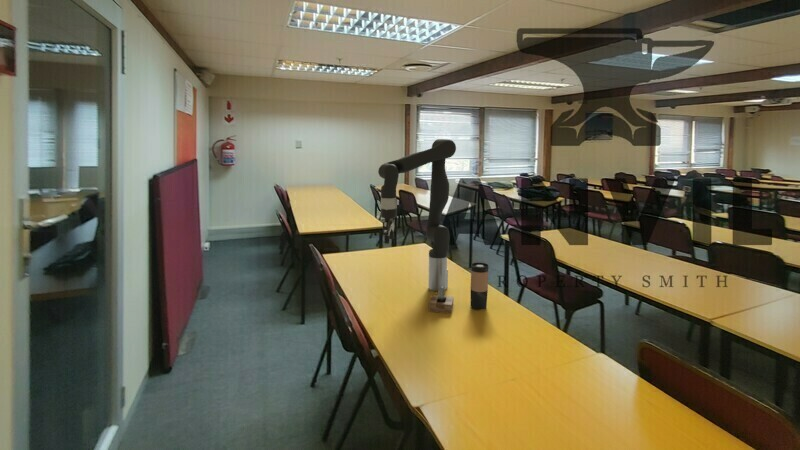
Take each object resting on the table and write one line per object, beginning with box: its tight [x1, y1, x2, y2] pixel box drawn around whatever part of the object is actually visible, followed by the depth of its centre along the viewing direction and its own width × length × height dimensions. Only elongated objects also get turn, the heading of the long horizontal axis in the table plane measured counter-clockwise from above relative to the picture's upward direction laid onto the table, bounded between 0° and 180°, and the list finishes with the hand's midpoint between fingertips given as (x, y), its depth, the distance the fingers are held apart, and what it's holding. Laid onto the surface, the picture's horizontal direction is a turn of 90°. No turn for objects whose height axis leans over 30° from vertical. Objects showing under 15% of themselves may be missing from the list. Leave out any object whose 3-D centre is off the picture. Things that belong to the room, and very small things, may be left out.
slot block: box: [428, 294, 455, 314], centre depth 186 cm, size 10×10×4 cm
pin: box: [437, 286, 446, 302], centre depth 186 cm, size 3×3×10 cm
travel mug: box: [470, 262, 489, 311], centre depth 186 cm, size 8×8×20 cm
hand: (389, 241), depth 194 cm, fingers open, 8 cm apart
